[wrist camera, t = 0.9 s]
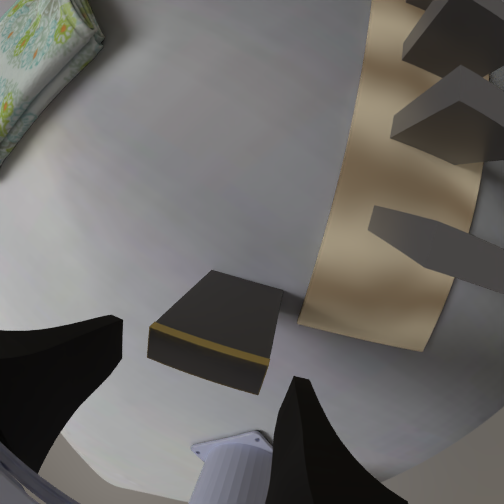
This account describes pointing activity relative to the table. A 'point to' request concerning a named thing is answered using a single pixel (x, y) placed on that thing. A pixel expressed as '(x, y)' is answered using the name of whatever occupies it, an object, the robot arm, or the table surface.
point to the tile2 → (441, 247)
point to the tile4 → (458, 37)
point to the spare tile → (219, 331)
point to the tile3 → (455, 119)
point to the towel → (40, 59)
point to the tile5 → (420, 3)
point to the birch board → (386, 204)
